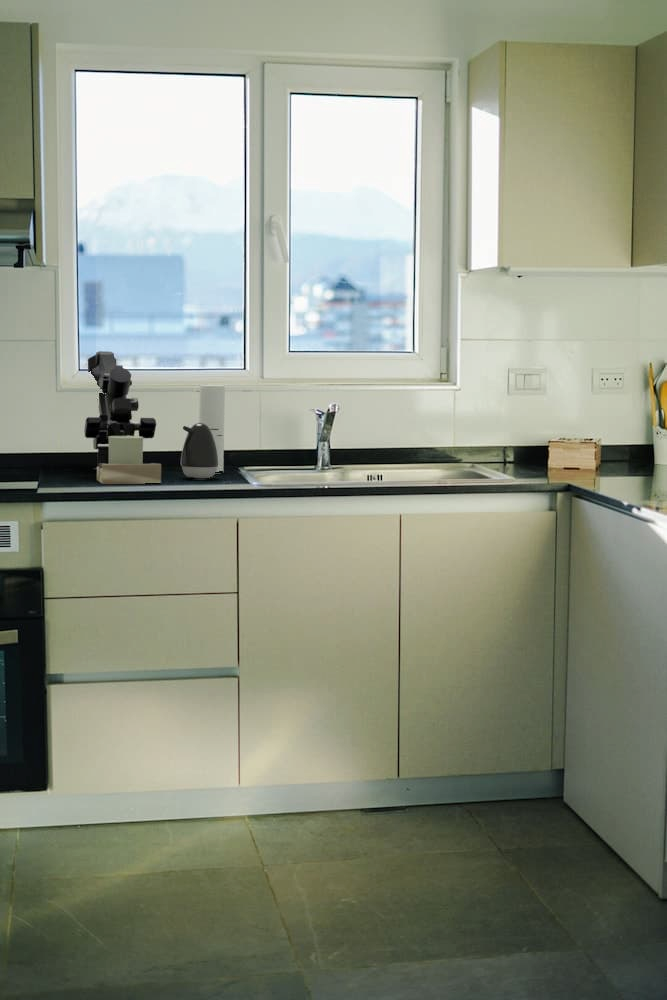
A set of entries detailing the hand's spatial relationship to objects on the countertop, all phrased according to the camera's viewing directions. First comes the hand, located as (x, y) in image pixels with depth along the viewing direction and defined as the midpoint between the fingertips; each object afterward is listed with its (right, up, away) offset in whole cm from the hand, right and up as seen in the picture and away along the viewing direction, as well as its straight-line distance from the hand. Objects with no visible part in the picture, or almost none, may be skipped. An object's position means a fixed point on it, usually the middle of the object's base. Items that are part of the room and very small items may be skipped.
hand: (123, 450), depth 326 cm
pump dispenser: (+19, -8, +7) cm, 22 cm away
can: (+1, -8, -3) cm, 9 cm away
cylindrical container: (+20, -5, +28) cm, 35 cm away
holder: (+2, -8, -7) cm, 11 cm away
